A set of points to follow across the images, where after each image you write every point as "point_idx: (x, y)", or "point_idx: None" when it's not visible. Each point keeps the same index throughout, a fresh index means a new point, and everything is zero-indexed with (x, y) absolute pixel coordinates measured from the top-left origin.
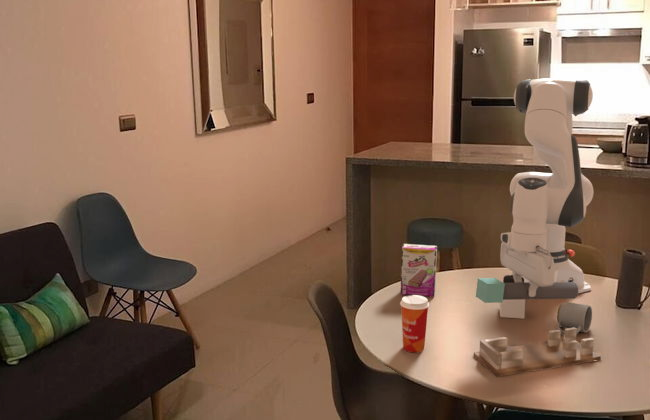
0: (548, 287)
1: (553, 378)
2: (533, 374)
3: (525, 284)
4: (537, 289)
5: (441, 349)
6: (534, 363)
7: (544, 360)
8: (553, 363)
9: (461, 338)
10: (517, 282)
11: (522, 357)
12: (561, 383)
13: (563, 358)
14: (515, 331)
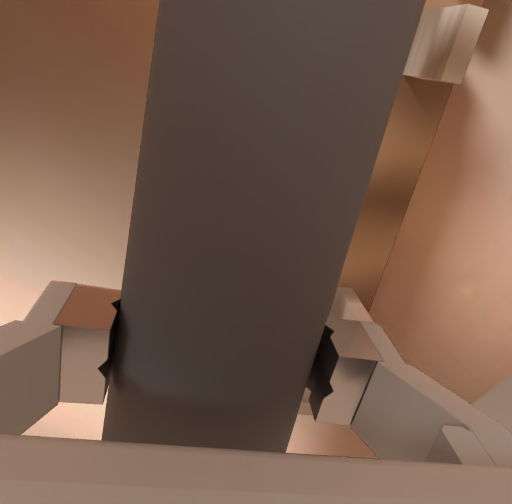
0: (393, 81)
1: (458, 233)
2: (396, 272)
3: (259, 426)
4: (341, 268)
5: (86, 418)
6: (368, 240)
7: (376, 188)
8: (415, 174)
9: (15, 318)
10: (68, 389)
11: (362, 307)
12: (496, 234)
13: (416, 97)
14: (15, 31)
